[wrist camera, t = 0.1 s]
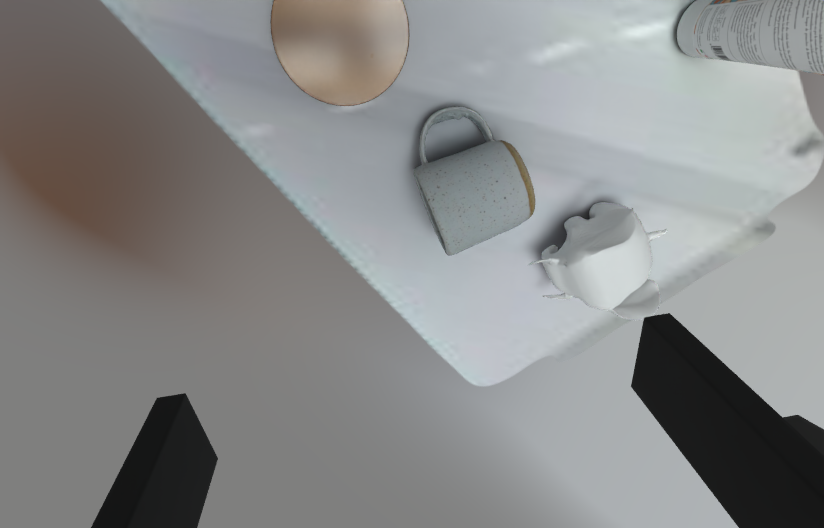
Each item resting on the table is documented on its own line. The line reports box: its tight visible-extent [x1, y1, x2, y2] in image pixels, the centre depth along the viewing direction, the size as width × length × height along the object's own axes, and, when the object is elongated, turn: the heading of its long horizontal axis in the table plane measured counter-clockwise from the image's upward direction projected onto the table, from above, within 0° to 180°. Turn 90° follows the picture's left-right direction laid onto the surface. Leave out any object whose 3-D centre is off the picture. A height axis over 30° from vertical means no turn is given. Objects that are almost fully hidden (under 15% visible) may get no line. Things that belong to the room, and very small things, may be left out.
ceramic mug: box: [414, 106, 535, 256], centre depth 36 cm, size 11×8×8 cm
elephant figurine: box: [529, 202, 668, 320], centre depth 40 cm, size 10×12×9 cm
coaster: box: [271, 0, 409, 106], centre depth 33 cm, size 10×10×1 cm
